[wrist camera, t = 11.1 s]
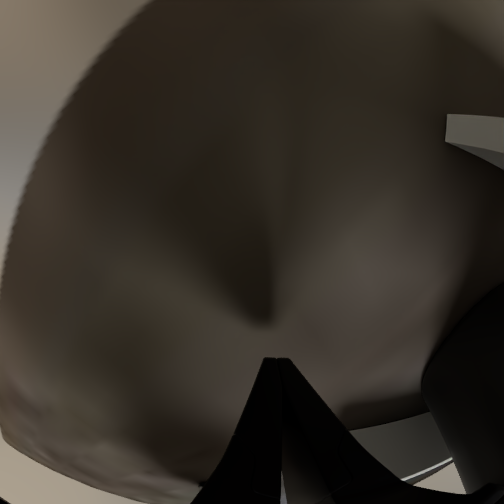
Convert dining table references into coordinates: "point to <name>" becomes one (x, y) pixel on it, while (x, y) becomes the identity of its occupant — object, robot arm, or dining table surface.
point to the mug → (472, 393)
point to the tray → (424, 426)
